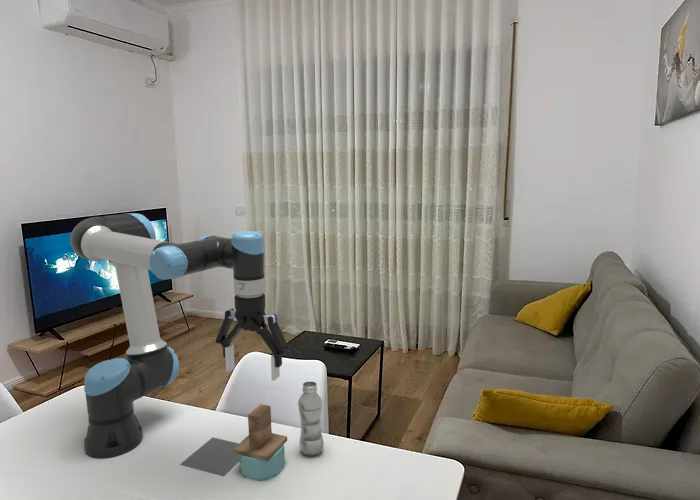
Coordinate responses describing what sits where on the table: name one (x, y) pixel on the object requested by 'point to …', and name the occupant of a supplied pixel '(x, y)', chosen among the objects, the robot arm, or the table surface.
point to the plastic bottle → (310, 420)
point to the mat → (214, 457)
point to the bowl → (262, 466)
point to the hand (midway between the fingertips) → (252, 374)
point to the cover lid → (260, 436)
